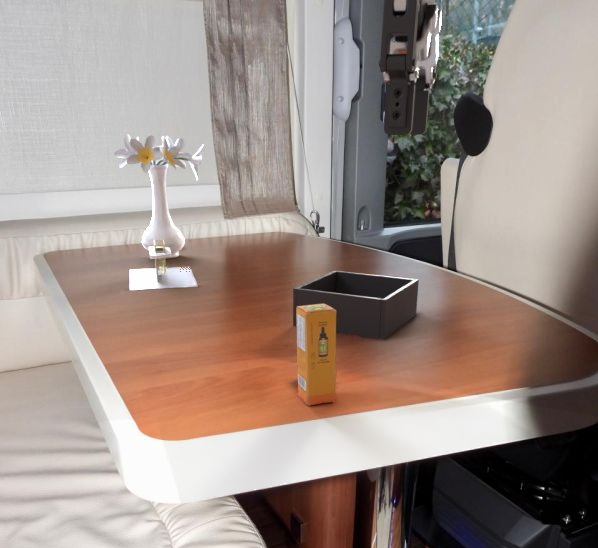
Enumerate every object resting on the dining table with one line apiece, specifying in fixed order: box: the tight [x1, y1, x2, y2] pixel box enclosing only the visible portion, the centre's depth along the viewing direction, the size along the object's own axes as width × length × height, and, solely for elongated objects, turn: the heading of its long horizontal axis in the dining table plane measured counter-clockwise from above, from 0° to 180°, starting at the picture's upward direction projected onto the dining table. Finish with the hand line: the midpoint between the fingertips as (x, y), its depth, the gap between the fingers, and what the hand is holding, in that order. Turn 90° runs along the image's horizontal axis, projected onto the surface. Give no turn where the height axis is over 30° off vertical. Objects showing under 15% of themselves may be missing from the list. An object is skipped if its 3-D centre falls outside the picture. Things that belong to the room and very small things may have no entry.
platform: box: [129, 240, 199, 291], centre depth 120 cm, size 12×18×7 cm, turn 14°
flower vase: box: [113, 133, 205, 260], centre depth 137 cm, size 13×18×25 cm
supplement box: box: [296, 304, 337, 407], centre depth 66 cm, size 3×3×10 cm
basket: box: [292, 270, 420, 340], centre depth 89 cm, size 13×13×7 cm
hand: (406, 134), depth 56 cm, fingers open, 8 cm apart
